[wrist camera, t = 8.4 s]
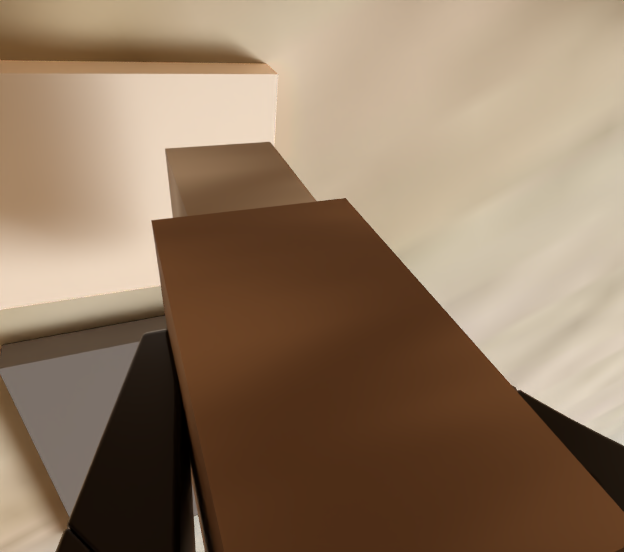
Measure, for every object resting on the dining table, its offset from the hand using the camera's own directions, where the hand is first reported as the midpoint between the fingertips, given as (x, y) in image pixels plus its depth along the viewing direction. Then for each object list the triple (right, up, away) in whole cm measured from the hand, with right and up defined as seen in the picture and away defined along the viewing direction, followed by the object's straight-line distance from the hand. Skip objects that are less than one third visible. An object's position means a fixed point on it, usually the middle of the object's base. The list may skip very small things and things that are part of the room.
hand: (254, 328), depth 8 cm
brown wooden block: (-1, +1, +2) cm, 2 cm away
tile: (0, +4, +5) cm, 7 cm away
